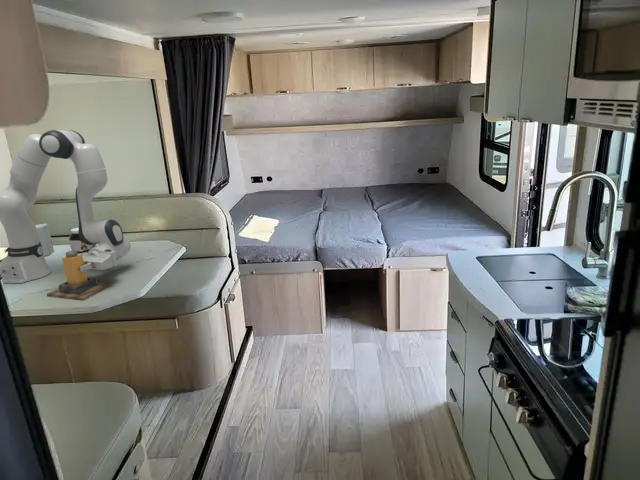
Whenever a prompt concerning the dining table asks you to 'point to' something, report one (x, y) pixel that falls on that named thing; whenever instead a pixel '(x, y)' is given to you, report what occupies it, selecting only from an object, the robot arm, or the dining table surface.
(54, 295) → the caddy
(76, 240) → the spread jar
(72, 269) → the cap
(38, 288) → the dining table surface
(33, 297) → the dining table surface
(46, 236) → the skincare box
